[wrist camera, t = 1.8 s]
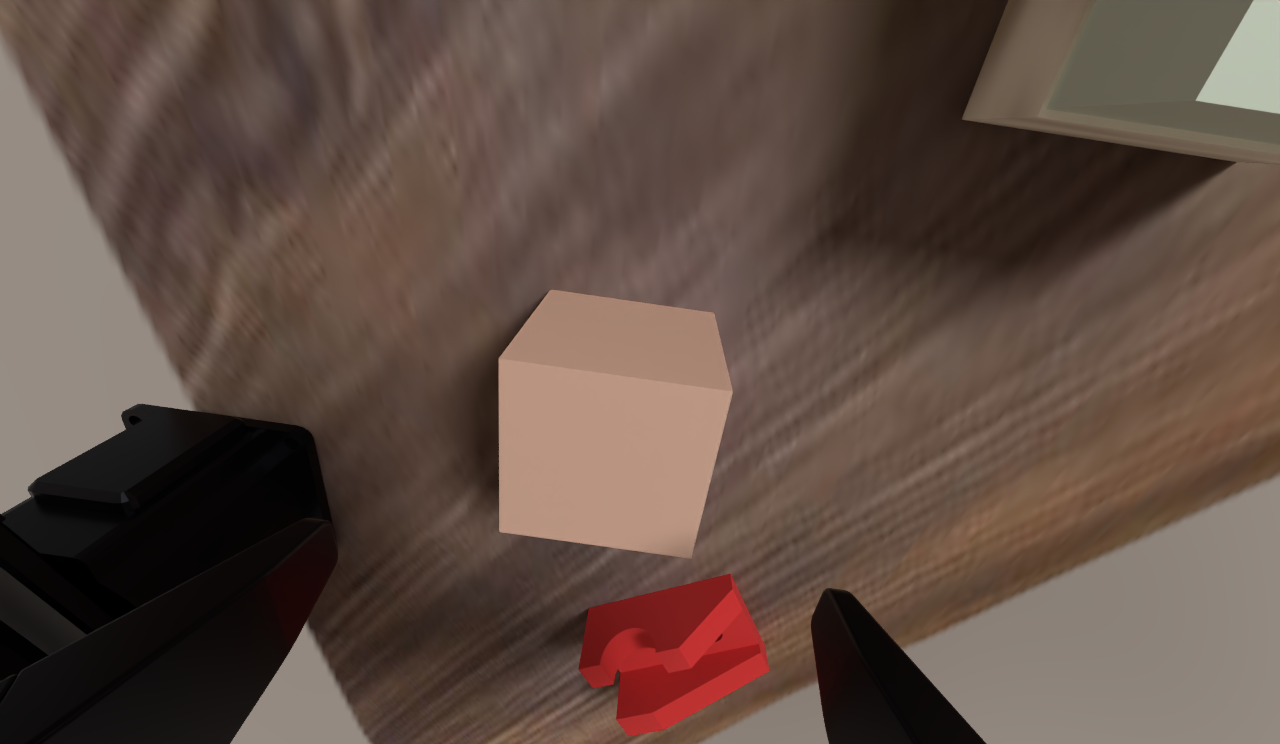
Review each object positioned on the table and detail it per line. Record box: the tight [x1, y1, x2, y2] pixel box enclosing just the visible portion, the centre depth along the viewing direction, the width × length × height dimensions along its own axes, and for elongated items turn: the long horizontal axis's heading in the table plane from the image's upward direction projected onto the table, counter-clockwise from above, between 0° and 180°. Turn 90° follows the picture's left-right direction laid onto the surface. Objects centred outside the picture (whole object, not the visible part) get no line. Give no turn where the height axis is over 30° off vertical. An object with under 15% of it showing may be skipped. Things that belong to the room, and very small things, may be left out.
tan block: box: [499, 290, 733, 558], centre depth 14 cm, size 5×5×5 cm
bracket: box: [579, 574, 769, 736], centre depth 20 cm, size 6×5×3 cm
